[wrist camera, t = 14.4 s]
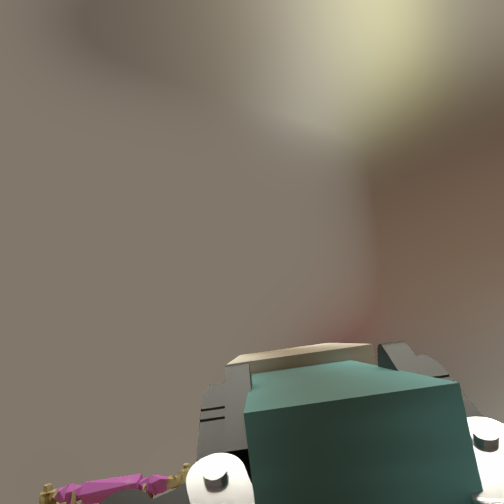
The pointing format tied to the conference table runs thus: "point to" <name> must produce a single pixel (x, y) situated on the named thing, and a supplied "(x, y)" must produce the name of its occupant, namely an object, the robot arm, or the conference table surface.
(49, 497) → the telephone
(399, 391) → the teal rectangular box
